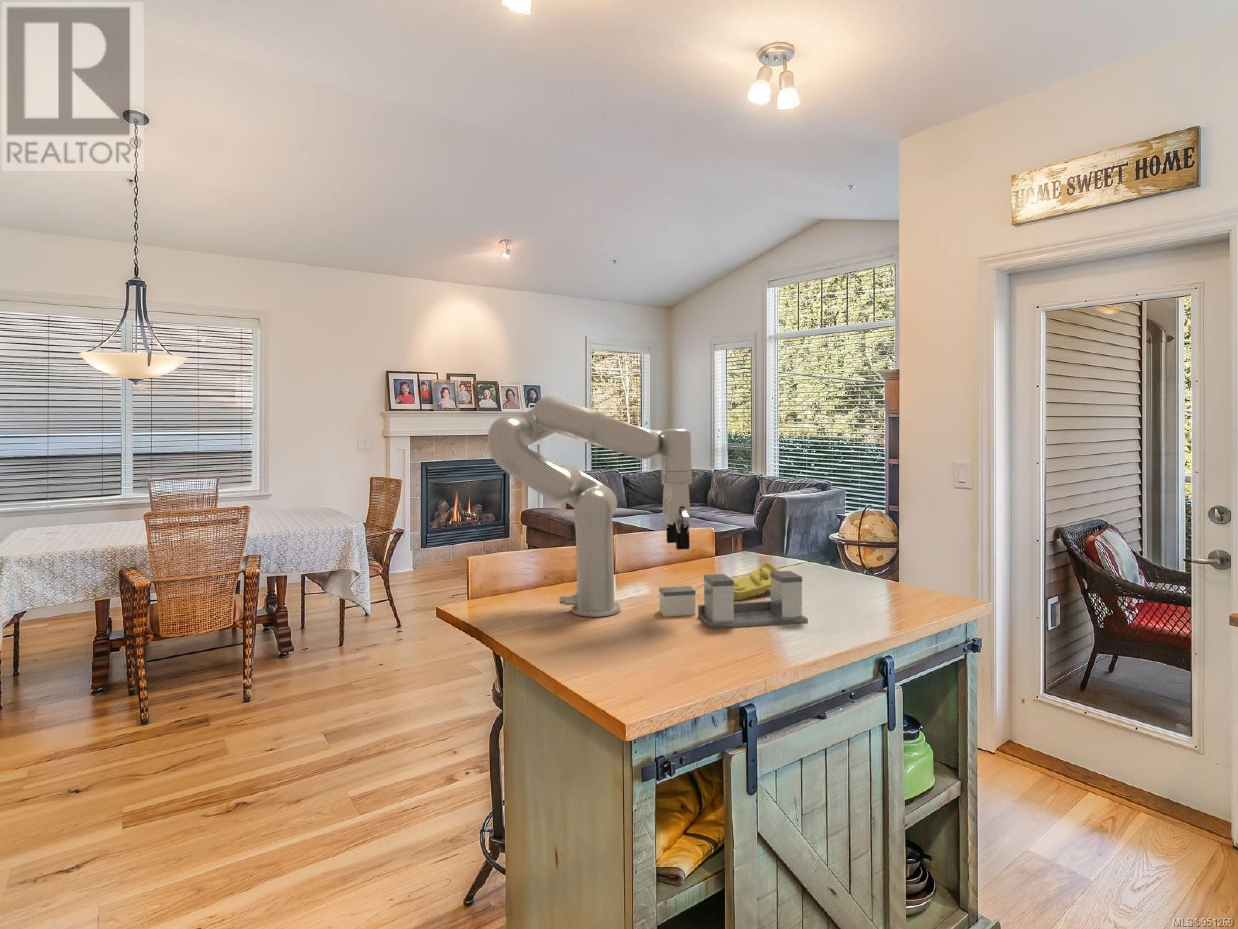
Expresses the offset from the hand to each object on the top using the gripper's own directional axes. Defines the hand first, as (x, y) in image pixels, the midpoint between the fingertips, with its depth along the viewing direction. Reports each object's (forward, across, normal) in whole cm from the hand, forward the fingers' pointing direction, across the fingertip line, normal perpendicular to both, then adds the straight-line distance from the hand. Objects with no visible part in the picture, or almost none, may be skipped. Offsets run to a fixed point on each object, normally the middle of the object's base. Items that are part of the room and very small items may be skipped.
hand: (677, 545), depth 166 cm
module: (+17, 0, 0) cm, 17 cm away
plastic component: (+18, -15, +24) cm, 34 cm away
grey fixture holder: (+17, +10, +16) cm, 25 cm away
